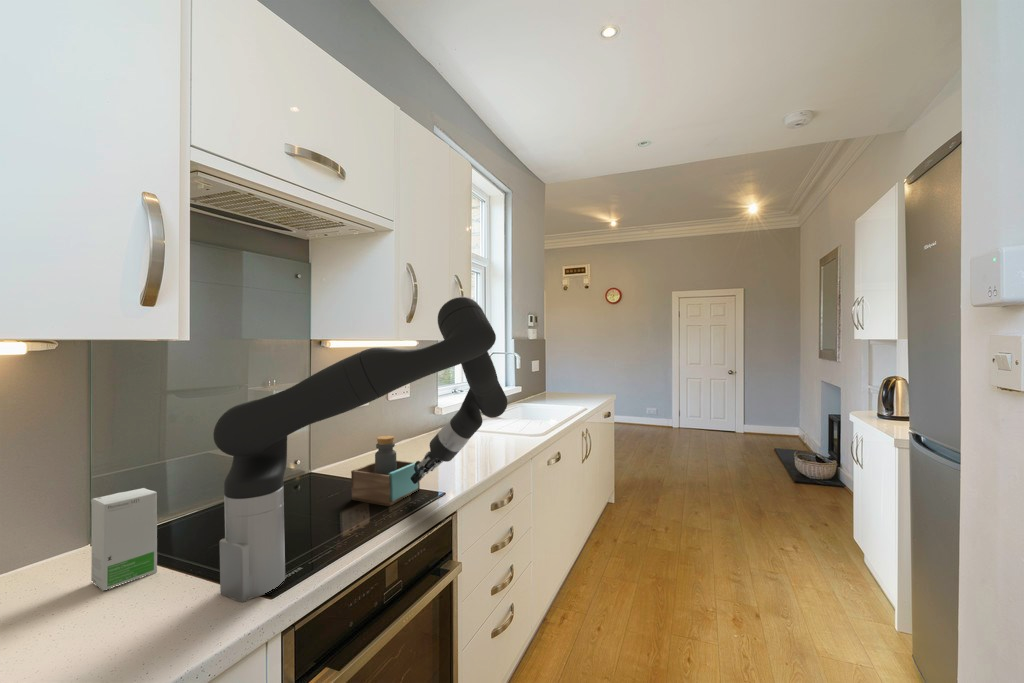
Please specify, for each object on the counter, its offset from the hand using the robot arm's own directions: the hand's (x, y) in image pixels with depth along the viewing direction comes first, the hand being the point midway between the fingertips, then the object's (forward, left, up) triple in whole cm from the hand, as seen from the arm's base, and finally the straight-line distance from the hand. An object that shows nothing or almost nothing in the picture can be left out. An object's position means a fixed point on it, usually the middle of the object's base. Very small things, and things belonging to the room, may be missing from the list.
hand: (414, 480), depth 121 cm
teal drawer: (0, +9, -4) cm, 10 cm away
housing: (0, +10, -5) cm, 11 cm away
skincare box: (-54, +26, -5) cm, 60 cm away
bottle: (0, +9, -4) cm, 10 cm away
